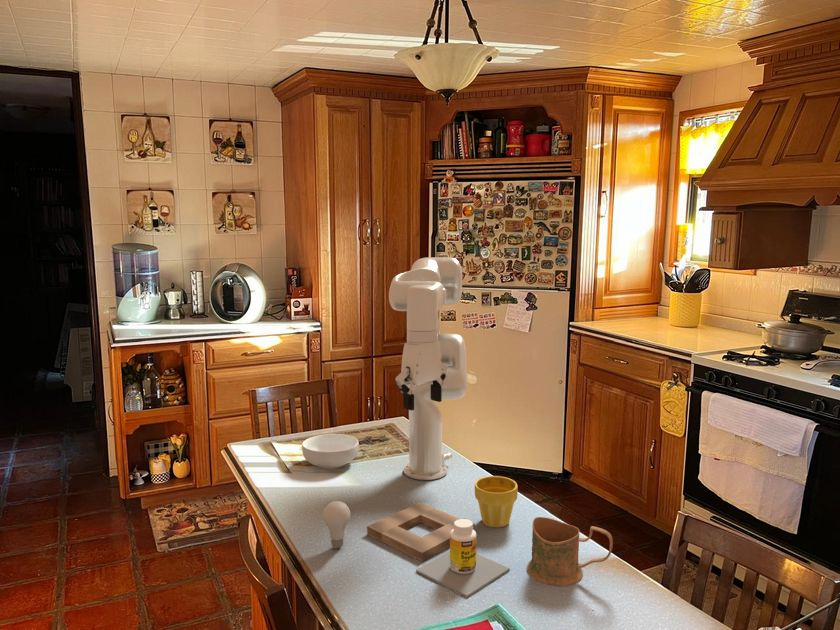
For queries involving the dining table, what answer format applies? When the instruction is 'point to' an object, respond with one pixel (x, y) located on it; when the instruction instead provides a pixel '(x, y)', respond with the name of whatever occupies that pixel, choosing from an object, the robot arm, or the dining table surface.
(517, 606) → the dining table surface
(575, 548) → the mug
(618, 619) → the dining table surface
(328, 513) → the lightbulb
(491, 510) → the plant pot
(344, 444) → the cereal bowl
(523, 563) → the dining table surface
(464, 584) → the grey mat
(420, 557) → the wooden square frame
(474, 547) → the supplement bottle
